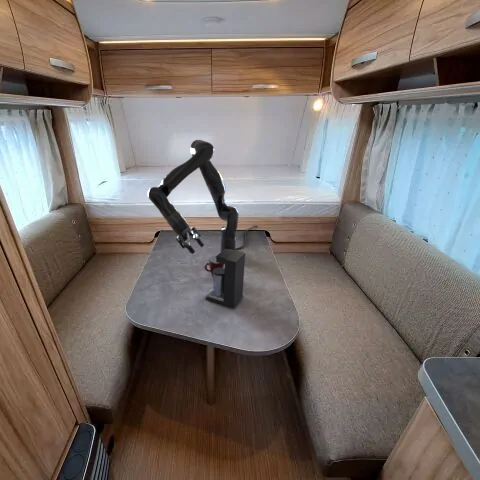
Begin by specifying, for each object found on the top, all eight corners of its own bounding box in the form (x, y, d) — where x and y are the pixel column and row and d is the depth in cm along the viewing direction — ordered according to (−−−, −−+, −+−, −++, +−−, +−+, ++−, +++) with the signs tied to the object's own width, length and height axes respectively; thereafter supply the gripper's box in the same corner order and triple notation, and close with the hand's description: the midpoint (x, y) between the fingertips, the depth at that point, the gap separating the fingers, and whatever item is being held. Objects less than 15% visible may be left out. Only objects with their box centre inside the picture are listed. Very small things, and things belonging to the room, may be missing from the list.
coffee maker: (205, 299, 128) (205, 254, 118) (216, 287, 137) (216, 245, 127) (233, 308, 121) (235, 262, 112) (242, 296, 130) (245, 252, 121)
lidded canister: (214, 289, 133) (215, 266, 128) (226, 291, 132) (227, 268, 126) (211, 296, 127) (211, 273, 122) (224, 298, 126) (225, 274, 121)
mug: (204, 279, 144) (204, 263, 140) (204, 271, 151) (204, 256, 147) (223, 279, 144) (224, 263, 140) (223, 272, 151) (223, 256, 147)
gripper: (173, 222, 119) (195, 251, 118) (190, 214, 130) (210, 240, 130) (164, 231, 123) (185, 259, 123) (181, 222, 134) (201, 247, 134)
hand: (198, 249), depth 126 cm, fingers open, 8 cm apart
